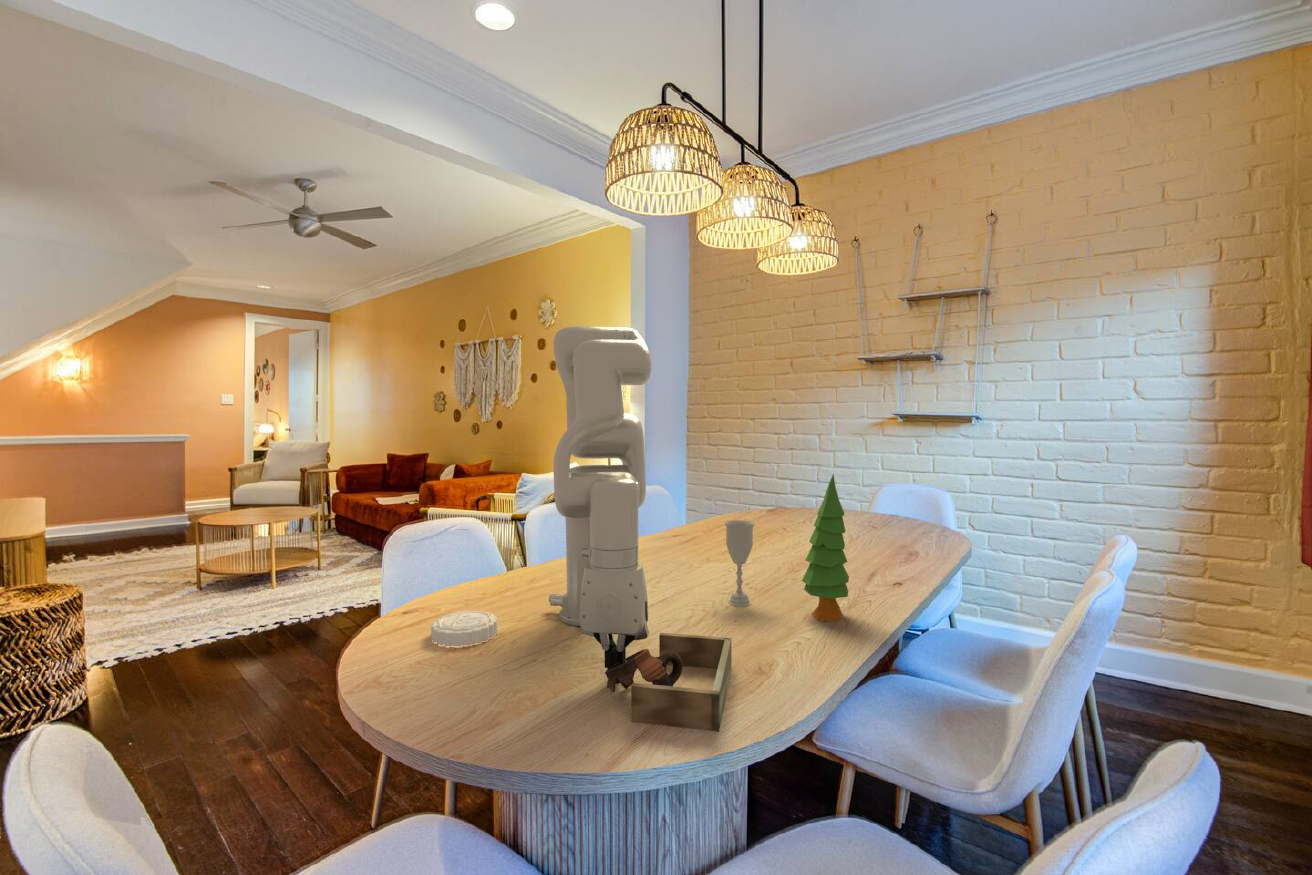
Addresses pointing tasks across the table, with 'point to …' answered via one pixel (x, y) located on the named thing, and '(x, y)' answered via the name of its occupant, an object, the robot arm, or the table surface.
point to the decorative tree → (827, 558)
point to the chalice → (739, 554)
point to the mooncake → (464, 628)
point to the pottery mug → (645, 669)
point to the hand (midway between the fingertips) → (615, 672)
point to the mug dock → (681, 702)
